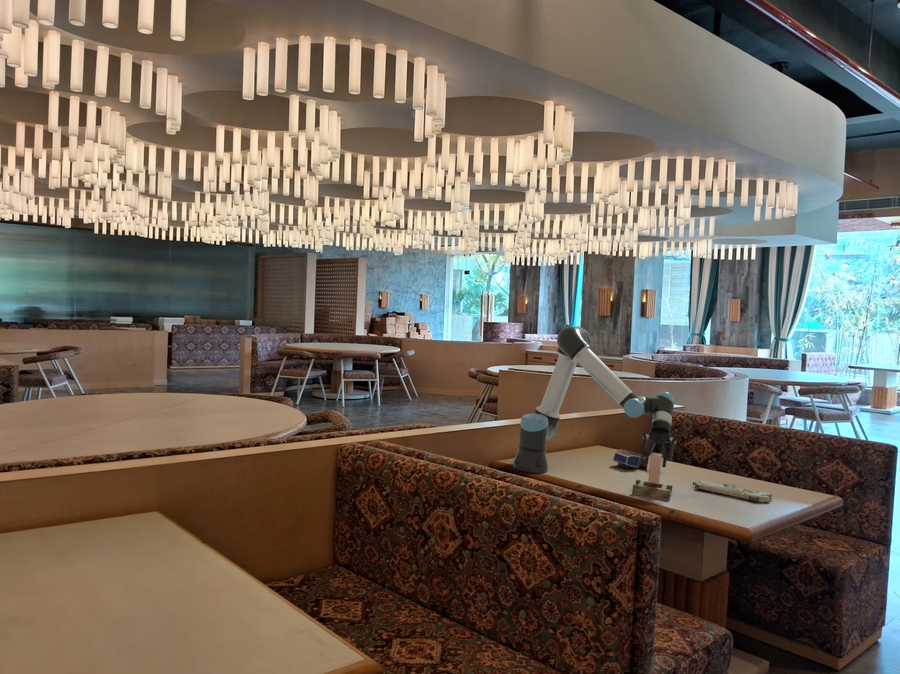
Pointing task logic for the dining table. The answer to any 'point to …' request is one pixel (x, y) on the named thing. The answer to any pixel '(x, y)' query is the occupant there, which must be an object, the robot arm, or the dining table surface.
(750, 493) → the grey flat slab
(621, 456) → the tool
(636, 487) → the rack
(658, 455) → the strip
